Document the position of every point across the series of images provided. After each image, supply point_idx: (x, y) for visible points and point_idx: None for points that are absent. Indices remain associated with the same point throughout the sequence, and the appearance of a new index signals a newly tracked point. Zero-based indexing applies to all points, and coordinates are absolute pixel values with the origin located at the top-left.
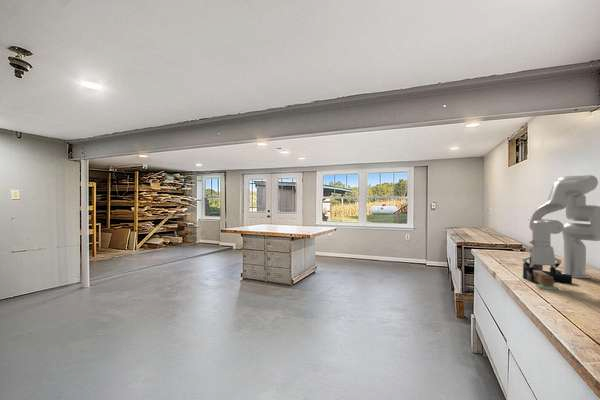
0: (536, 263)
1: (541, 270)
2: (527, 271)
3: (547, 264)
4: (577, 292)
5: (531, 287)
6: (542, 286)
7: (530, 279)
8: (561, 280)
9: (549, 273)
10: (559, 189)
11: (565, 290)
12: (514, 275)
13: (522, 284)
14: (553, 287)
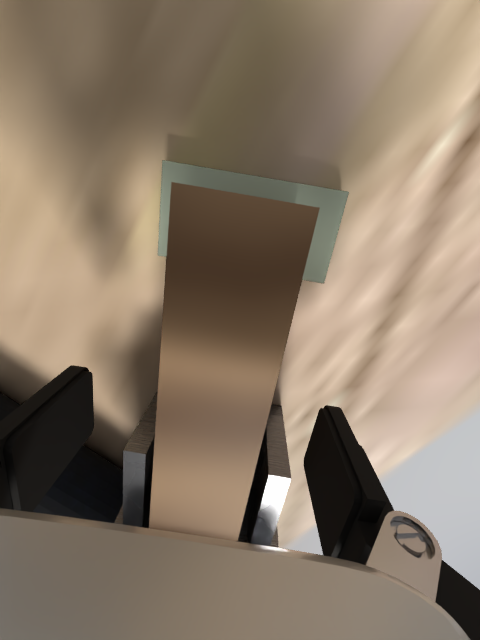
0: (381, 606)
1: None
2: (275, 525)
3: (57, 533)
4: (24, 88)
5: (414, 218)
6: (322, 193)
7: (279, 419)
8: None
9: (59, 506)
10: None
11: (114, 153)
12: (287, 539)
13: (423, 317)
14: (217, 170)
